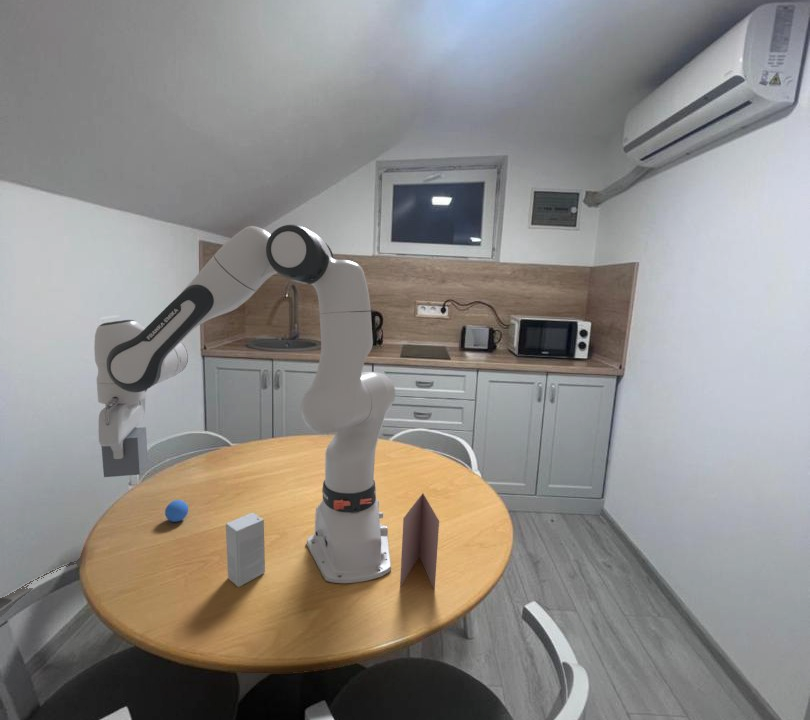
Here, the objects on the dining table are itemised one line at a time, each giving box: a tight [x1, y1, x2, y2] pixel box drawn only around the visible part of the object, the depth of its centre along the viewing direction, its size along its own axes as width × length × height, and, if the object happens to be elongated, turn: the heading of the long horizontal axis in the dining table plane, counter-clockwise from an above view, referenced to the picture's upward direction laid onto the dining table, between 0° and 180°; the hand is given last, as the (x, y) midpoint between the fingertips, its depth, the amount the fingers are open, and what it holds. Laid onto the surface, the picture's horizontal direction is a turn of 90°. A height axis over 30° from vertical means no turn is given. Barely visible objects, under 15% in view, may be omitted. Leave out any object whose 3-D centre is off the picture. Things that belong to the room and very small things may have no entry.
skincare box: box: [225, 512, 266, 588], centre depth 86 cm, size 6×4×12 cm
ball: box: [164, 499, 189, 523], centre depth 105 cm, size 5×5×5 cm
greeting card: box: [399, 492, 440, 591], centre depth 89 cm, size 11×7×15 cm, turn 159°
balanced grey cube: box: [100, 426, 149, 478], centre depth 99 cm, size 7×7×9 cm
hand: (125, 450), depth 99 cm, fingers closed on balanced grey cube, 7 cm apart
